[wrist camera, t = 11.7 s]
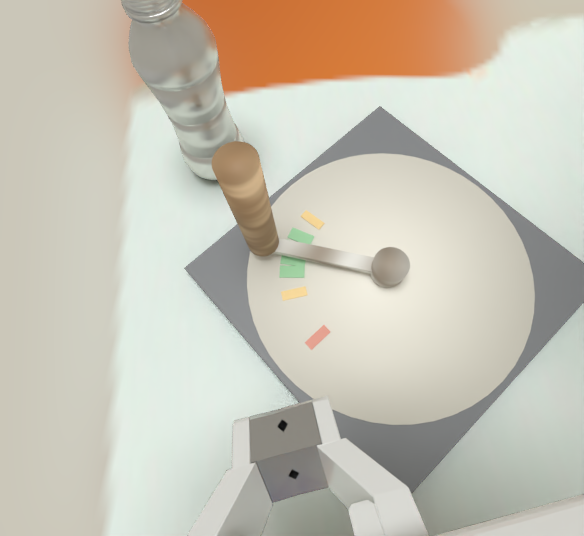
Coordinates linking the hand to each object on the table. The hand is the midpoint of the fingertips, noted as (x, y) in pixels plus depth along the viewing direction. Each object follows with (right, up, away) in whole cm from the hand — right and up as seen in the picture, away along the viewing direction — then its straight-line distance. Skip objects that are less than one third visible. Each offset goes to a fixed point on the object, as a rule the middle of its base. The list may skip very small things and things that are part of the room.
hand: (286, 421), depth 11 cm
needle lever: (+3, +6, +24) cm, 25 cm away
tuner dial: (+9, +4, +25) cm, 27 cm away
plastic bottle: (-8, +17, +31) cm, 36 cm away
